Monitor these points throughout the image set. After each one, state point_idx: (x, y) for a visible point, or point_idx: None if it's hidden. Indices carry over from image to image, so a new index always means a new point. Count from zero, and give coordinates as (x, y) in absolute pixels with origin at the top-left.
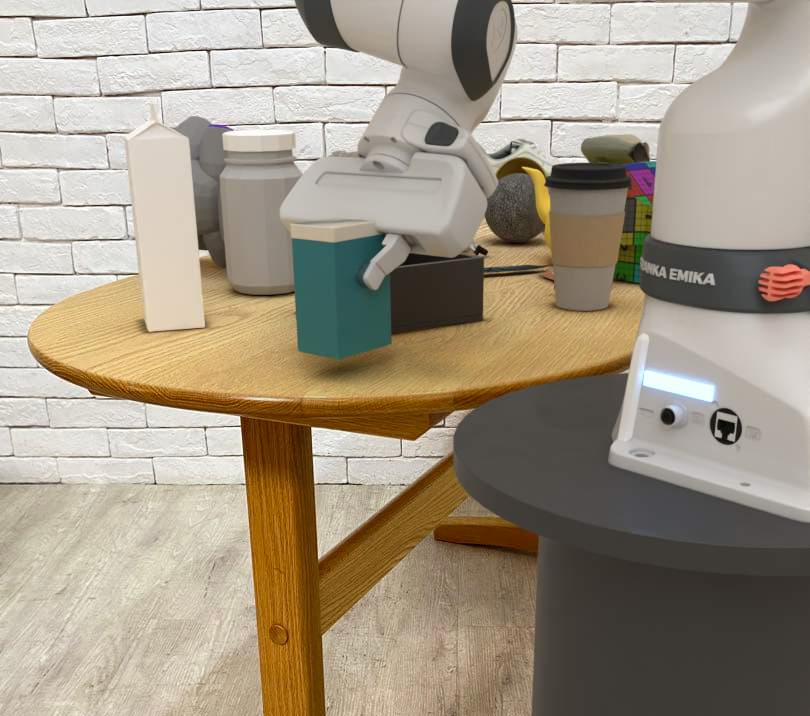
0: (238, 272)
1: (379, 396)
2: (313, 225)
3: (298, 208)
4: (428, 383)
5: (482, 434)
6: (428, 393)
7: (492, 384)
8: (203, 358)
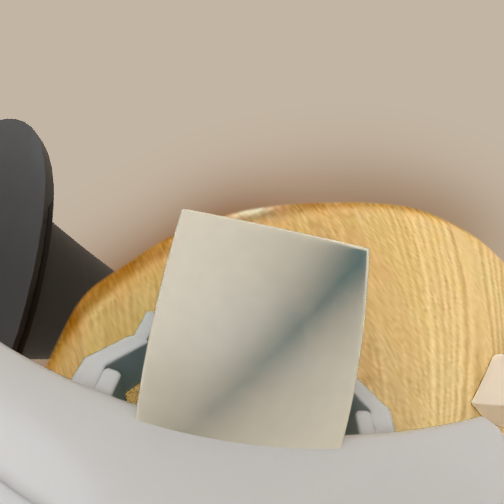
0: None
1: (141, 271)
2: (278, 235)
3: (467, 441)
4: None
5: (29, 187)
6: (99, 304)
7: (58, 363)
8: (412, 312)
